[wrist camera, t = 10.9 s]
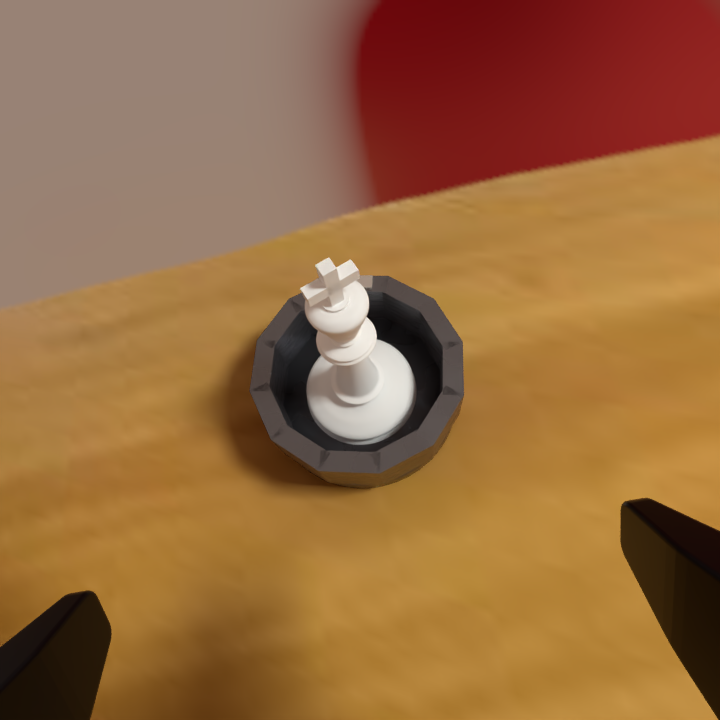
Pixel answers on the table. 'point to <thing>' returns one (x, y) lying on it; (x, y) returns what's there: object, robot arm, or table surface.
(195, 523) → the table surface
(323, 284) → the chess piece
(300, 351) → the mount
